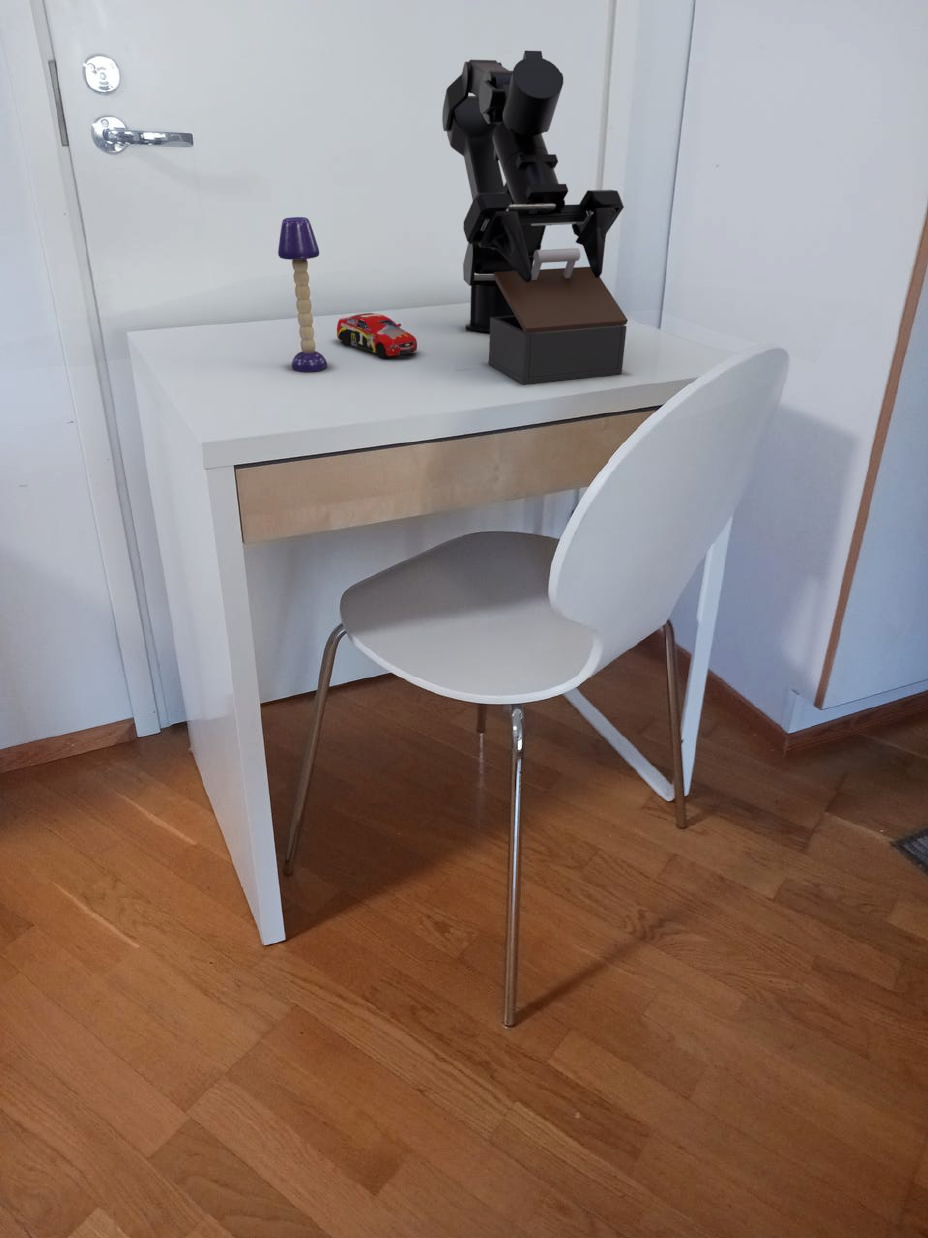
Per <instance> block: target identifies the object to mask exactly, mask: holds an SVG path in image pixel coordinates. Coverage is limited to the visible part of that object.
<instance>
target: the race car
mask: <svg viewBox="0 0 928 1238" xmlns="http://www.w3.org/2000/svg"><path fill="white" fill-rule="evenodd" d="M401 327H402V324H401V323H396V322H395V321H394V320H392V319H391V318H389V317H388V316H386V315H383V314H379V313H374V312H367V313H359V314H354V315H351V316H350V315H349V316H347V317H341V318H339V320H338V321H337V325H336V337H337V339H338V340H339V341H341V343H342V344H343V345H344V346H345V347H349V346H354V347H357V348H360V349H362V350H366V351H369V352H371V353H374V354H377V356H378V357H379V358H380V359H385V358H389V356H403V355H409V354H413V353H416V351H417V350H418V340H417V338H416V336H414V335H413V334H412V333H410V332H408V331H407V330H404V329H403V328H401Z"/></svg>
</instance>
